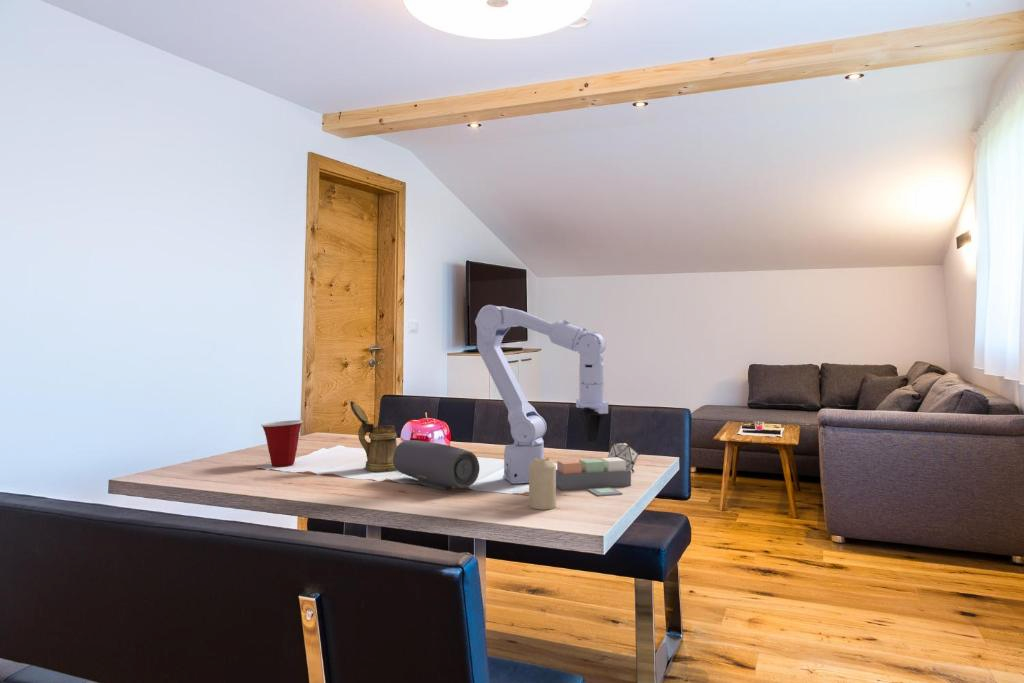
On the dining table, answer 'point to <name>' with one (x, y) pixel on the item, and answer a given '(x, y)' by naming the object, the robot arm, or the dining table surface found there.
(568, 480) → the button bar
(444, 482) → the bluetooth speaker
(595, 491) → the card
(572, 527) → the dining table surface
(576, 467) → the terracotta button
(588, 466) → the sage button
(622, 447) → the game die
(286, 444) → the plastic cup
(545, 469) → the candle
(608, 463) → the cream button
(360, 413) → the wooden mug
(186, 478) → the dining table surface
